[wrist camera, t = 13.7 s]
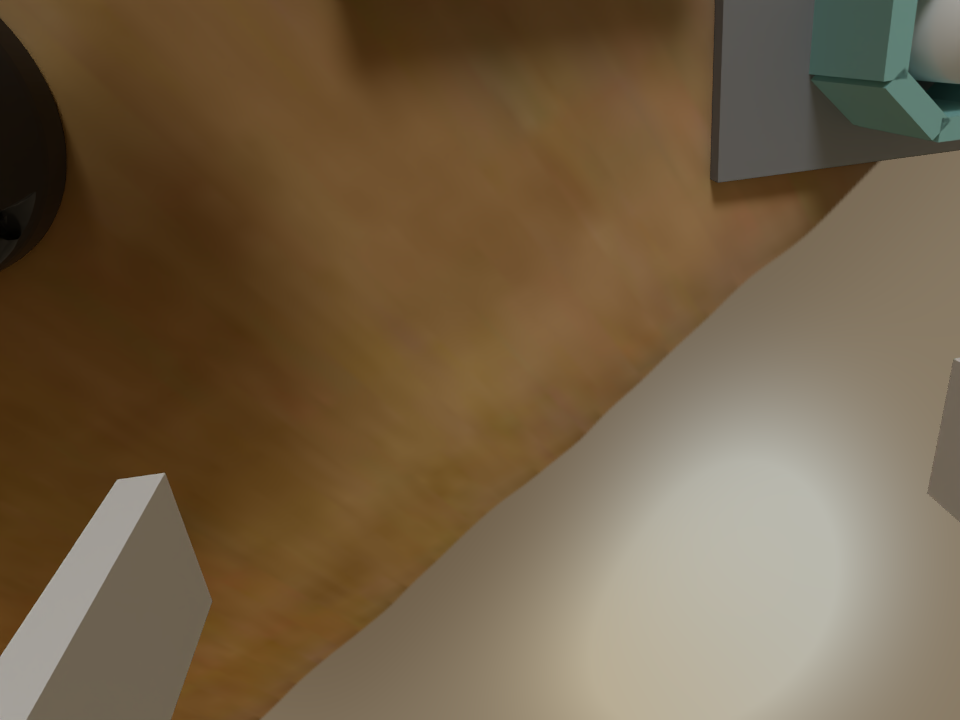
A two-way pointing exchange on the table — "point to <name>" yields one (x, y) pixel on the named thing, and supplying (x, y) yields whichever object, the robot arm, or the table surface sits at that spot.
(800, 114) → the stand
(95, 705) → the robot arm
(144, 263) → the table surface
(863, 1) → the collar
